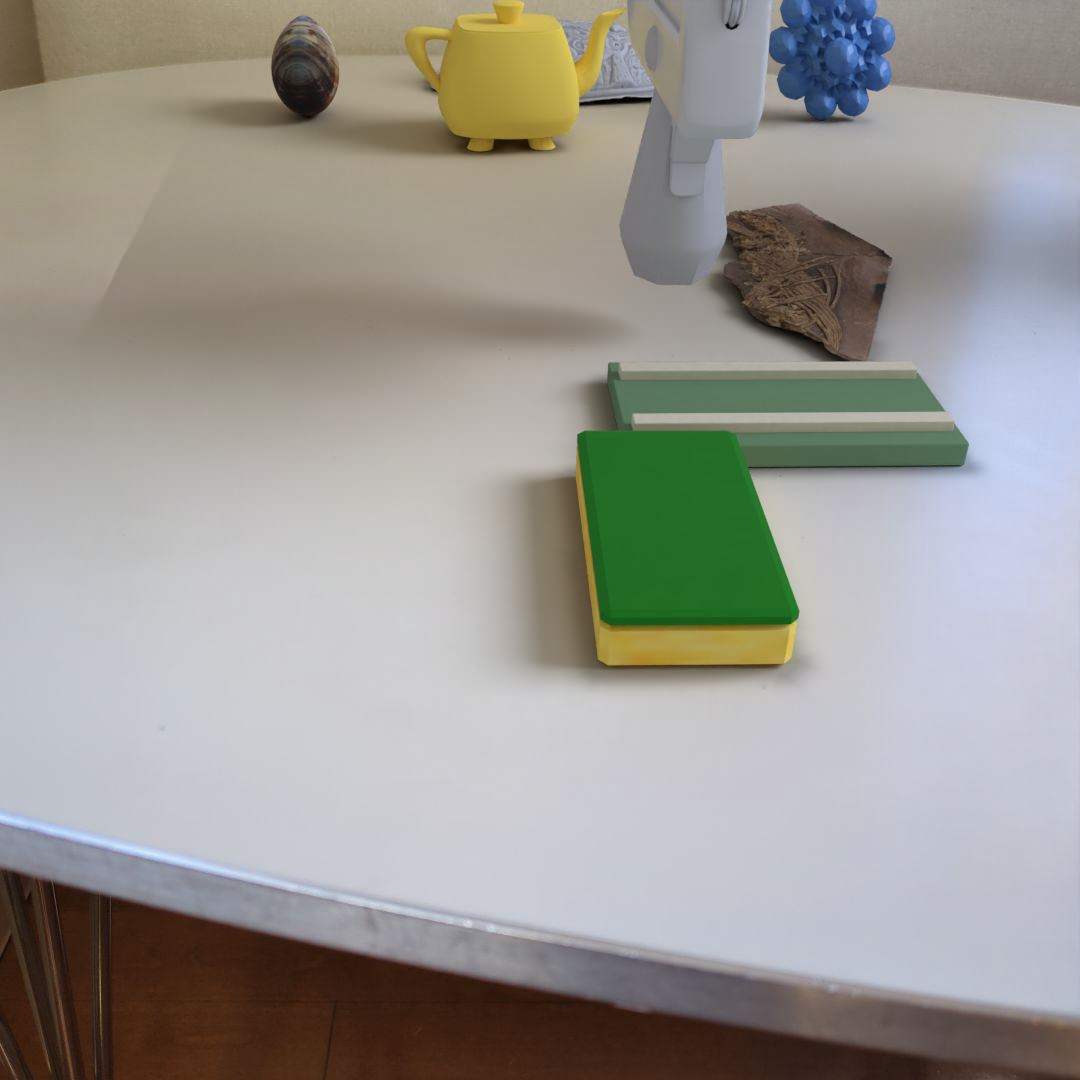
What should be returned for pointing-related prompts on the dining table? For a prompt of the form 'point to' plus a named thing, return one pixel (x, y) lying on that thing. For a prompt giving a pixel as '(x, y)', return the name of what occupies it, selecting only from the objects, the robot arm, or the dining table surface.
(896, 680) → the dining table surface
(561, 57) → the teapot
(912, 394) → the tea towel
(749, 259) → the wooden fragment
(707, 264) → the salt shaker
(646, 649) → the dish sponge
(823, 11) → the blue knobbly round piece
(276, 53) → the seashell
